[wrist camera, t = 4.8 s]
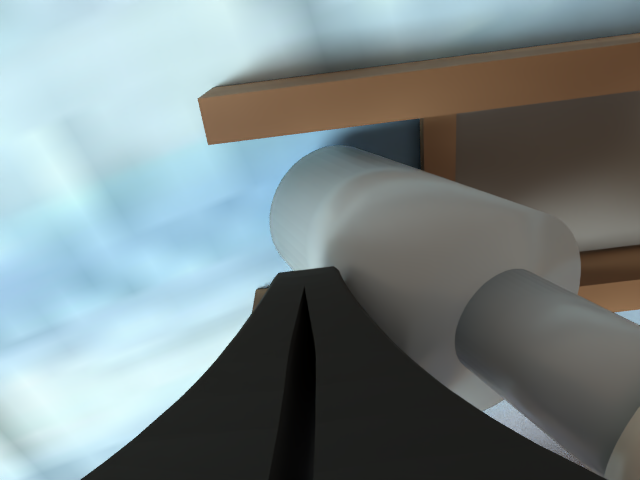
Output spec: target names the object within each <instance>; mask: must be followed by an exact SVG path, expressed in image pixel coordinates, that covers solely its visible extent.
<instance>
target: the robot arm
mask: <svg viewBox="0 0 640 480" xmlns="http://www.w3.org/2000/svg"><path fill="white" fill-rule="evenodd" d="M81 480H607V479H605V478H603V477H601V476H599V475H597V474H595V473H593V472H591V471H589V470H587V469H585V468H583V467H581V466H579V465H577V464H575V463H573V462H571V461H569V460H567V459H566V458H564V457H562V456H560V455H558V454H556V453H554V452H552V451H550V450H548V449H546V448H544V447H542V446H540V445H538V444H536V443H534V442H532V441H530V440H529V439H527V438H525V437H524V436H522V435H520V434H518V433H517V432H515V431H513V430H512V429H510V428H508V427H506V426H505V425H503V424H501V423H500V422H498V421H496V420H494V419H493V418H491V417H490V416H488V415H487V414H485V413H484V412H482V411H481V410H479V409H478V408H476V407H475V406H473V405H472V404H470V403H469V402H467V401H466V400H464V399H463V398H461V397H460V396H459V395H457V394H456V393H454V392H453V391H451V390H450V389H448V388H447V387H446V386H444V385H443V384H442V383H441V382H439V381H438V380H437V379H435V378H434V377H433V376H432V375H430V374H429V373H428V372H427V371H425V370H424V369H423V368H422V367H421V366H419V365H418V364H417V363H416V362H415V361H414V360H412V359H411V358H410V357H409V356H408V355H407V354H406V353H405V352H404V351H403V350H401V349H400V348H399V347H398V346H397V345H396V344H395V343H394V342H393V341H392V340H391V339H390V338H389V337H388V336H387V335H386V334H385V332H384V331H383V330H382V329H381V328H380V327H379V326H378V325H377V324H376V323H375V322H374V320H373V319H372V318H371V317H370V316H369V314H368V313H367V312H366V311H365V310H364V308H363V307H362V306H361V305H360V303H359V302H358V301H357V299H356V298H355V297H354V295H353V294H352V292H351V291H350V290H349V288H348V287H347V285H346V283H345V282H344V280H343V278H342V276H341V274H340V271H339V270H338V269H337V268H336V267H334V266H330V267H322V268H314V269H306V270H298V271H290V272H282V273H278V274H277V275H276V277H275V278H274V279H273V281H272V283H271V284H270V286H269V288H268V289H267V291H266V292H265V294H264V296H263V297H262V299H261V300H260V302H259V303H258V305H257V306H256V308H255V309H254V311H253V312H252V314H251V315H250V317H249V318H248V319H247V321H246V322H245V324H244V325H243V327H242V328H241V329H240V331H239V332H238V333H237V335H236V336H235V337H234V338H233V340H232V341H231V342H230V343H229V345H228V346H227V347H226V348H225V350H224V351H223V352H222V353H221V355H220V356H219V357H218V358H217V360H216V361H215V362H214V363H213V364H212V365H211V367H210V368H209V369H208V370H207V371H206V372H205V373H204V374H203V375H202V377H201V378H200V379H199V380H198V381H197V382H196V383H195V384H194V385H193V386H192V387H191V388H190V389H189V390H188V391H187V392H186V393H185V394H184V395H183V396H182V397H181V398H180V399H179V400H178V401H176V402H175V403H174V404H173V405H172V406H171V407H170V408H168V409H167V410H166V411H165V412H164V413H163V414H162V415H161V416H159V417H158V418H157V419H156V420H155V421H154V422H153V423H151V424H150V425H149V426H148V427H147V428H146V429H145V430H143V431H142V432H141V433H140V434H139V435H138V436H137V437H135V438H134V439H133V440H132V441H131V442H129V443H128V444H127V445H126V446H124V447H123V448H122V449H120V450H119V451H118V452H117V453H115V454H114V455H113V456H111V457H110V458H109V459H108V460H106V461H105V462H104V463H103V464H101V465H100V466H98V467H97V468H96V469H94V470H93V471H92V472H90V473H89V474H88V475H86V476H85V477H84V478H82V479H81Z"/></svg>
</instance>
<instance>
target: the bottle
mask: <svg viewBox="0 0 640 480" xmlns="http://www.w3.org/2000/svg"><path fill="white" fill-rule="evenodd" d="M270 233H271V237H272V240H273V243H274V245H275V248H276V250H277V251H278V253H279V255H280V256H281V257H282V258H283V260H284V261H285V262H286V263H287V264H288V265H289V266H290V267H291V268H292V269H293V270H294V271H298V270H306V269H314V268H322V267H330V266H334V267H336V268H337V269H338V270H339V271H340V274H341V276H342V278H343V280H344V282H345V283H346V285H347V287H348V288H349V290H350V291H351V292H352V294H353V295H354V297H355V298H356V299H357V301H358V302H359V303H360V305H361V306H362V307H363V308H364V310H365V311H366V312H367V313H368V314H369V316H370V317H371V318H372V319H373V320H374V322H375V323H376V324H377V325H378V326H379V327H380V328H381V329H382V330H383V331H384V332H385V334H386V335H387V336H388V337H389V338H390V339H391V340H392V341H393V342H394V343H395V344H396V345H397V346H398V347H399V348H400V349H401V350H403V351H404V352H405V353H406V354H407V355H408V356H409V357H410V358H411V359H412V360H414V361H415V362H416V363H417V364H418V365H419V366H421V367H422V368H423V369H424V370H425V371H427V372H428V373H429V374H430V375H432V376H433V377H434V378H435V379H437V380H438V381H439V382H441V383H442V384H443V385H444V386H446V387H447V388H448V389H450V390H451V391H453V392H454V393H456V394H457V395H459V396H460V397H461V398H463V399H464V400H466V401H467V402H469V403H470V404H472V405H473V406H475V407H476V408H478V409H479V410H481V411H484V410H486V409H488V408H490V407H492V406H494V405H496V404H498V403H499V402H501V401H503V400H504V399H505V400H506V401H507V402H508V403H509V404H511V405H512V406H513V407H514V408H515V409H517V410H518V411H519V412H520V413H521V414H523V415H524V416H525V417H526V418H528V419H529V420H530V421H531V422H532V423H534V424H535V425H536V426H537V427H538V428H540V429H541V430H542V431H543V432H544V433H546V434H547V435H548V436H549V437H550V438H552V439H553V440H554V441H555V442H556V443H558V444H559V445H560V446H561V447H562V448H564V449H565V450H566V451H567V452H568V453H570V454H571V455H572V456H573V457H575V458H576V459H577V460H578V461H579V462H581V463H582V464H583V465H584V466H585V467H587V468H588V469H589V470H590V471H591V472H593V473H595V474H597V475H599V476H601V477H603V478H605V479H607V480H640V325H638V324H636V323H634V322H632V321H630V320H628V319H626V318H624V317H622V316H620V315H618V314H615V313H613V312H611V311H609V310H607V309H605V308H603V307H601V306H599V305H597V304H595V303H593V302H591V301H589V300H587V299H585V298H583V297H581V296H579V295H578V290H579V285H580V276H581V260H580V253H579V249H578V245H577V242H576V240H575V238H574V236H573V233H572V232H571V231H570V229H569V228H568V227H567V225H565V224H564V223H563V222H562V221H561V220H560V219H558V218H556V217H554V216H552V215H550V214H547V213H544V212H541V211H538V210H536V209H533V208H530V207H527V206H524V205H521V204H518V203H515V202H512V201H509V200H507V199H504V198H501V197H498V196H495V195H492V194H489V193H486V192H483V191H480V190H478V189H475V188H472V187H469V186H466V185H463V184H460V183H457V182H454V181H451V180H448V179H446V178H443V177H440V176H437V175H434V174H431V173H428V172H425V171H422V170H419V169H417V168H414V167H411V166H408V165H405V164H402V163H399V162H396V161H393V160H390V159H388V158H385V157H382V156H379V155H376V154H373V153H370V152H367V151H364V150H361V149H359V148H355V147H352V146H345V145H334V146H328V147H324V148H321V149H318V150H315V151H313V152H311V153H309V154H308V155H306V156H305V157H303V158H301V159H300V160H299V161H298V162H297V163H295V164H294V165H293V166H292V168H291V169H290V170H289V171H288V172H287V173H286V175H285V176H284V177H283V179H282V180H281V182H280V184H279V186H278V187H277V190H276V192H275V194H274V197H273V201H272V204H271V209H270Z"/></svg>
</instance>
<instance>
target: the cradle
mask: <svg viewBox="0 0 640 480" xmlns="http://www.w3.org/2000/svg"><path fill="white" fill-rule="evenodd" d="M198 102H199V107H200V111H201V116H202V120H203V124H204V129H205V133H206V137H207V142H208V145H212V144H220V143H228V142H235V141H243V140H251V139H259V138H267V137H275V136H283V135H291V134H299V133H307V132H315V131H323V130H331V129H339V128H346V127H354V126H362V125H370V124H378V123H386V122H394V121H402V120H410V119H418V118H420V162H421V170H422V171H425V172H428V173H431V174H434V175H437V176H440V177H443V178H446V179H448V180H451V181H454V182H457V183H460V184H463V185H466V186H469V187H472V188H475V189H478V190H480V191H483V192H486V193H489V194H492V195H495V196H498V197H501V198H504V199H507V200H509V201H512V202H515V203H518V204H521V205H524V206H527V207H530V208H533V209H536V210H538V211H541V212H544V213H547V214H550V215H552V216H554V217H556V218H558V219H560V220H561V221H562V222H563V223H564V224H565V225H567V227H568V228H569V229H570V231H571V232H572V233H573V236H574V238H575V240H576V242H577V245H578V249H579V253H580V260H581V276H580V285H579V290H578V295H579V296H581V297H583V298H585V299H587V300H589V301H591V302H593V303H595V304H597V305H599V306H601V307H603V308H605V309H607V310H609V311H611V312H621V311H629V310H638V309H640V33H634V34H626V35H619V36H611V37H603V38H595V39H587V40H580V41H572V42H564V43H556V44H549V45H541V46H533V47H525V48H517V49H510V50H502V51H494V52H486V53H479V54H471V55H463V56H455V57H447V58H440V59H432V60H424V61H416V62H408V63H401V64H393V65H385V66H377V67H370V68H362V69H354V70H346V71H338V72H331V73H323V74H315V75H307V76H300V77H292V78H284V79H276V80H268V81H261V82H253V83H245V84H237V85H230V86H222V87H214V88H212V89H210V90H209V91H208V92H206V93H205V94H204V95H202V96H201V97H199V98H198ZM267 289H268V288H265V289H257V290H256V292H255V298H254V304H253V310H252V312H253V311H254V309H255V308H256V306H257V305H258V303H259V302H260V300H261V299H262V297H263V296H264V294H265V292H266V291H267Z"/></svg>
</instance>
